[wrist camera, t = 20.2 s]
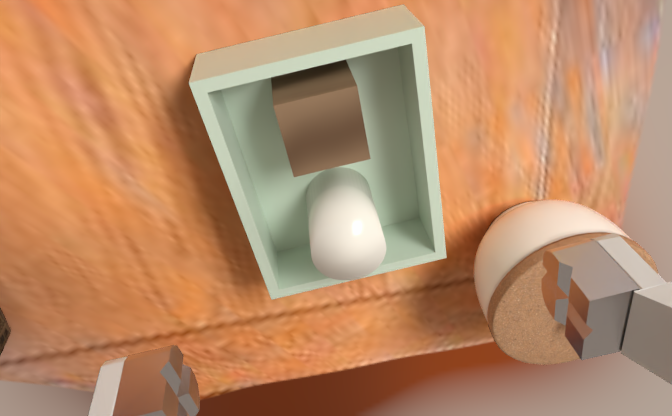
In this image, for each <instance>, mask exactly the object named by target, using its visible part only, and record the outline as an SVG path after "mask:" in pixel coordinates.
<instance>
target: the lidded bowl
mask: <svg viewBox="0 0 672 416" xmlns="http://www.w3.org/2000/svg"><path fill="white" fill-rule="evenodd" d="M611 233H615V234H618V235H619V236H620V237H621V238H622V239H623V240H624V241H625V242H626V243H627V244H628V245H629V246H630V247H631V248H632V249H633V250H634V251H635V252H636V253H637V254H638V255H639V256H640V257H641V258H642V259H643V260H644V261H645V262H646V263H647V264H648V265H649V266H650V267H651V268H652V269H653V270H654V271H655V272H656V273H657V274H658V270H657V267H656V264H655V262H654V261H653V259H652V257H651V256H650V255H649V254H648V253H647V252H646V251H645V250H644V249H643V248H642V247H641V246H640V245H639V244H637V243H636V242H635V241H633V240H632V239H631V238H630V237H629V236H628V235H627V234H625V233H624V232H623V231H622V230H621V229H620V228H619V227H618V226H617V225H616V224H614V223H613V222H612V221H610V220H609V219H608V218H606V217H605V216H603V215H601V214H600V213H598V212H596V211H594V210H592V209H591V208H589V207H587V206H584V205H581V204H577V203H574V202H571V201H564V200H540V201H530V202H524V203H521V204H518V205H515V206H513V207H511V208H509V209H507V210H506V211H504V212H503V213H501V214H500V215H499V216H498V217H497V218H496V219H495V220H494V221H493V222H492V224H491V225H490V227H489V228H488V230H487V232H486V234H485V235H484V237H483V238H482V240H481V242H480V244H479V246H478V250H477V253H476V257H475V262H474V282H475V288H476V293H477V297H478V300H479V303H480V306H481V308H482V311H483V313H484V316H485V318H486V320H487V322H488V326H489V329H490V332H491V334H492V337H493V339H494V341H495V342H496V344H497V345H498V347H499V348H500V349H501V350H502V351H503V352H504V353H506V354H507V355H509V356H511V357H513V358H514V359H517V360H519V361H522V362H526V363H532V364H544V365H545V364H558V363H564V362H569V361H573V360H576V359H580V358H579V356H578V355H577V353H576V352H575V350H574V349H573V347H572V346H571V344H570V343H569V341H568V340H567V338H566V337H565V328H566V326H565V325H563V324H561V323H559V322H557V321H555V320H554V319H553V317H552V316H551V314H550V313H549V311H548V309H547V307H546V305H545V302H544V299H543V295H542V291H541V280H542V278H543V277H544V275H545V274H546V273H547V270H546V269H545V267H544V266H543V264H542V263H543V255H544V253H545V251H546V250H550V249H554V248H558V247H562V246H565V245H569V244H573V243H577V242H580V241H584V240H590V239H592V238H596V237H600V236H604V235H608V234H611Z"/></svg>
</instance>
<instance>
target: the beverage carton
mask: <svg viewBox="0 0 672 416" xmlns="http://www.w3.org/2000/svg"><path fill="white" fill-rule="evenodd" d="M10 332H11V329H10V327H9V326H8V323H7V321H6V319H5V317H4V314H3V312H2V310H1V308H0V355H1V353H2V351H3V349H4V345H5V344H6V342H7V339H8V337H9V334H10Z"/></svg>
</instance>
